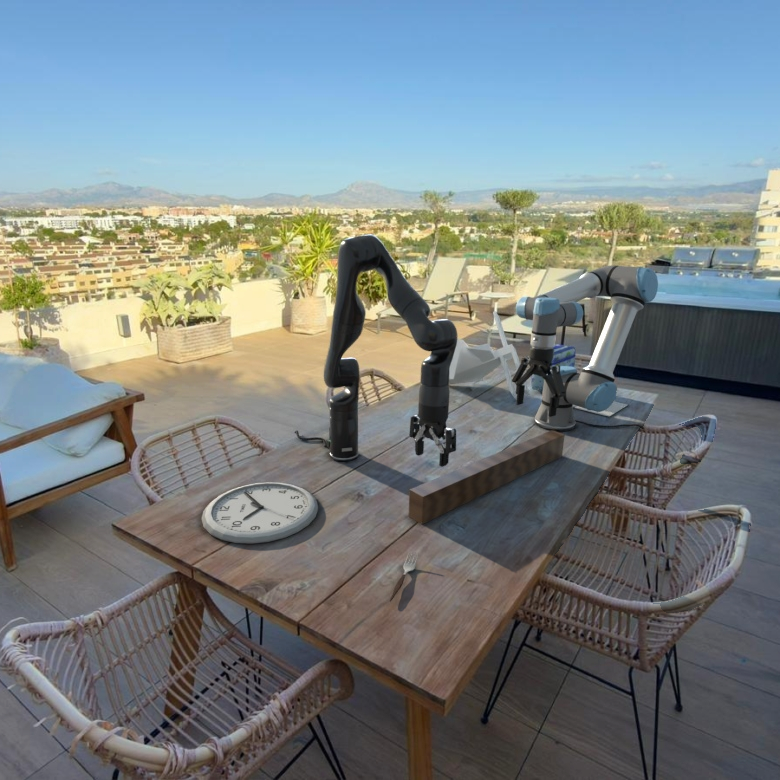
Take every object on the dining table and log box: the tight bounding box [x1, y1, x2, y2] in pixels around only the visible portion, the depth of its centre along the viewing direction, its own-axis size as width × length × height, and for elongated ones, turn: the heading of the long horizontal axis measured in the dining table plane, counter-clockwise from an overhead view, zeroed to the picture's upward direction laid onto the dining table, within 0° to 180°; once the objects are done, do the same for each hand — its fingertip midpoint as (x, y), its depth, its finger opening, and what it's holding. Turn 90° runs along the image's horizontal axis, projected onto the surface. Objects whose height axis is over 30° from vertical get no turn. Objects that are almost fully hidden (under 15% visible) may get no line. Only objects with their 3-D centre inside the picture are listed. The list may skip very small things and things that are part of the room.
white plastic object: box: [449, 310, 531, 400], centre depth 245 cm, size 37×45×31 cm
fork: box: [389, 550, 419, 602], centre depth 113 cm, size 3×16×2 cm, turn 160°
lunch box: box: [530, 344, 577, 392], centre depth 247 cm, size 26×11×21 cm, turn 134°
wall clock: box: [201, 481, 319, 544], centre depth 139 cm, size 30×2×30 cm
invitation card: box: [573, 400, 629, 418], centre depth 226 cm, size 21×1×15 cm
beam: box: [408, 430, 566, 525], centre depth 156 cm, size 66×5×8 cm, turn 131°
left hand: (431, 459), depth 135 cm, fingers open, 8 cm apart
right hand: (535, 409), depth 173 cm, fingers open, 13 cm apart
